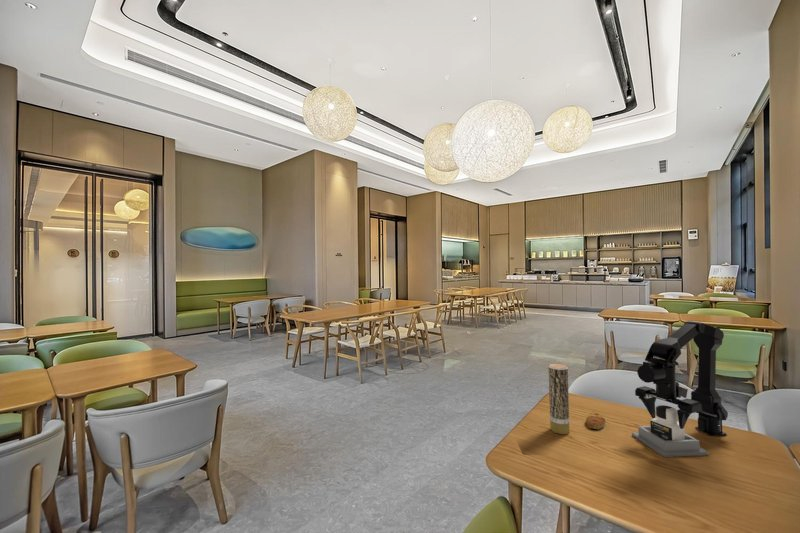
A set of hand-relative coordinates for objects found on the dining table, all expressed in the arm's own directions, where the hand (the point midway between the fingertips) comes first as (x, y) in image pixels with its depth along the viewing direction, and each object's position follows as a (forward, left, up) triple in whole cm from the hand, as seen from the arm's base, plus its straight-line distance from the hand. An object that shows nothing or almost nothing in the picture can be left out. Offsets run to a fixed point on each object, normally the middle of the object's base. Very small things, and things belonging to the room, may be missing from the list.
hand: (667, 423), depth 122 cm
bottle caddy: (0, 0, -8) cm, 8 cm away
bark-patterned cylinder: (+32, -13, -8) cm, 35 cm away
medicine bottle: (0, 0, -7) cm, 7 cm away
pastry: (+15, -17, -8) cm, 24 cm away
